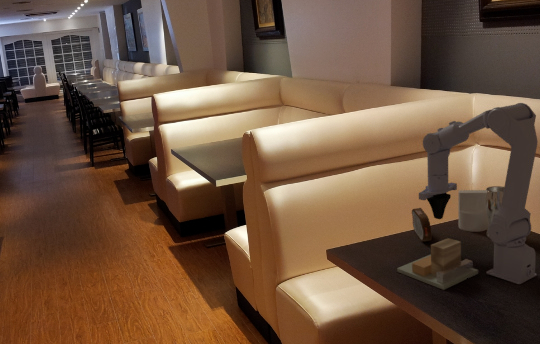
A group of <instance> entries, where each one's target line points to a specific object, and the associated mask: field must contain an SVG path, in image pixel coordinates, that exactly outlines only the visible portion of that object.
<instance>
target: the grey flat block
mask: <svg viewBox="0 0 540 344" xmlns="http://www.w3.org/2000/svg"><path fill="white" fill-rule="evenodd" d="M429 256H431V253H430V254H428V255H426V256H423V257H421V258H419V259H416V260H414V261H411V262H408V263H407V264H404V265H402V266H399V267H397V268H396V272H397V273H399V274H402V275H404V276H407V277H410V278H413V279H415V280H418V281H420V282H422V283H424V284H425V283H426V284H428V285H431V286H433V287H435V288H438V289H441V290H443V291H445V290H447V289H448V288H451V287H452V286H455V285H457V284H459V283H461V282H463V281H465V280H468V279H470V278H471V277H474V276H476V275H478V274H479V269H477V268H474V265H473V260H470V259H468V258H465V259H464V260H461V262H458V263H456V264H454V265H452V266H449V267H447V268H445V269H443V270H440V271H438V272H436V275H434V274H431V273H430V274H428V275H426V276H422V275H420V274H417V273H414V272H412V263H414V262H417V261H419V260H421V259H424V258H426V257H429ZM467 278H468V279H467Z"/></svg>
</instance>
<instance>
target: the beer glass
mask: <svg viewBox="0 0 540 344" xmlns="http://www.w3.org/2000/svg"><path fill="white" fill-rule="evenodd" d="M504 187H505V186H501V185H496V186H488V187H486V188H485V190H486V198H485V207H486V214H487V219H488V226H489V224H490V223H491V221H492V219H493V215H494V213H495V212H496V211H497V210H498V209H499V208H500V206H501V204H502V198H503V192H504ZM486 237H487V238H489V239H490V237H489V234H488V229H486Z"/></svg>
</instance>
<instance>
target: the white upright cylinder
mask: <svg viewBox="0 0 540 344" xmlns="http://www.w3.org/2000/svg"><path fill="white" fill-rule="evenodd" d="M457 196H458V228H459V229H460V230H462V231H466V232H471V233H472V232H473V233H476V232H477V233H478V232H479V233H480V232H483V231H487V229H488V219H487V214H486V207H485V198H486V189H481V190H480V189H471V190H470V189H466V190H465V189H464V190H463V189H461V190H460V189H459V190H458V195H457Z"/></svg>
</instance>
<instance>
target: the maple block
mask: <svg viewBox="0 0 540 344" xmlns="http://www.w3.org/2000/svg"><path fill="white" fill-rule="evenodd" d="M430 254H431V274H434V275H436V272H438V271H440V270H443V269H445V268H447V267H449V266H452V265H454V264H456V263H458V262H461V261H462V242H461V240H460V241H459V240H455V239H453V238H449V237H448V238H445V239H442V240H439V241H438V242H435V243H432V244H430Z"/></svg>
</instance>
